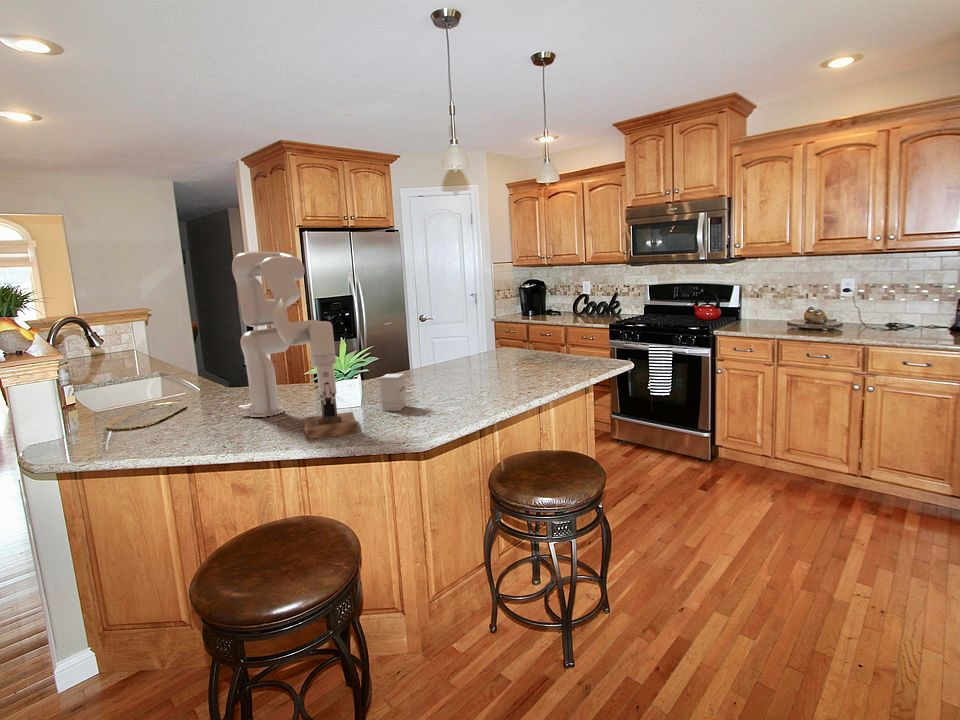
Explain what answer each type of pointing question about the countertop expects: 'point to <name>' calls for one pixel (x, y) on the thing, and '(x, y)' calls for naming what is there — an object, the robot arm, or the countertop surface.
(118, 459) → the countertop surface
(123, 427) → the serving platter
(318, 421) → the wooden slotted base
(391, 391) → the supplement box
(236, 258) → the robot arm
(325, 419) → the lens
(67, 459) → the countertop surface
